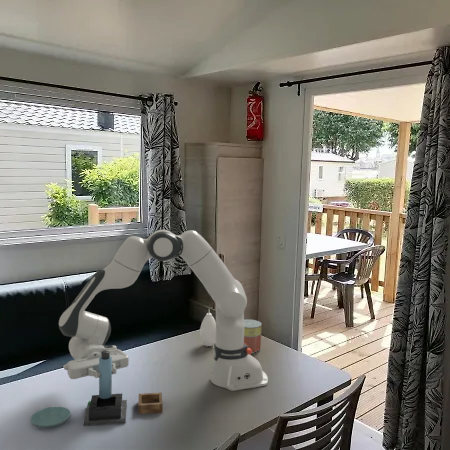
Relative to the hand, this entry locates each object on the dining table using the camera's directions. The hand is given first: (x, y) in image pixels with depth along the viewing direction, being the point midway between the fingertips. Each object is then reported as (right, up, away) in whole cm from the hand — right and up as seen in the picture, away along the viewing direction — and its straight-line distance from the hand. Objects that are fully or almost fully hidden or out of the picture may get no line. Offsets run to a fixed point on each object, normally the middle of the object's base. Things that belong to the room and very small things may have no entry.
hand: (106, 373), depth 150 cm
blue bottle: (-1, -8, +2) cm, 8 cm away
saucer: (-17, -15, -2) cm, 23 cm away
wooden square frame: (+13, -14, +8) cm, 21 cm away
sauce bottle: (+31, -8, +64) cm, 71 cm away
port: (-1, -14, +3) cm, 15 cm away
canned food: (+49, -9, +62) cm, 80 cm away
